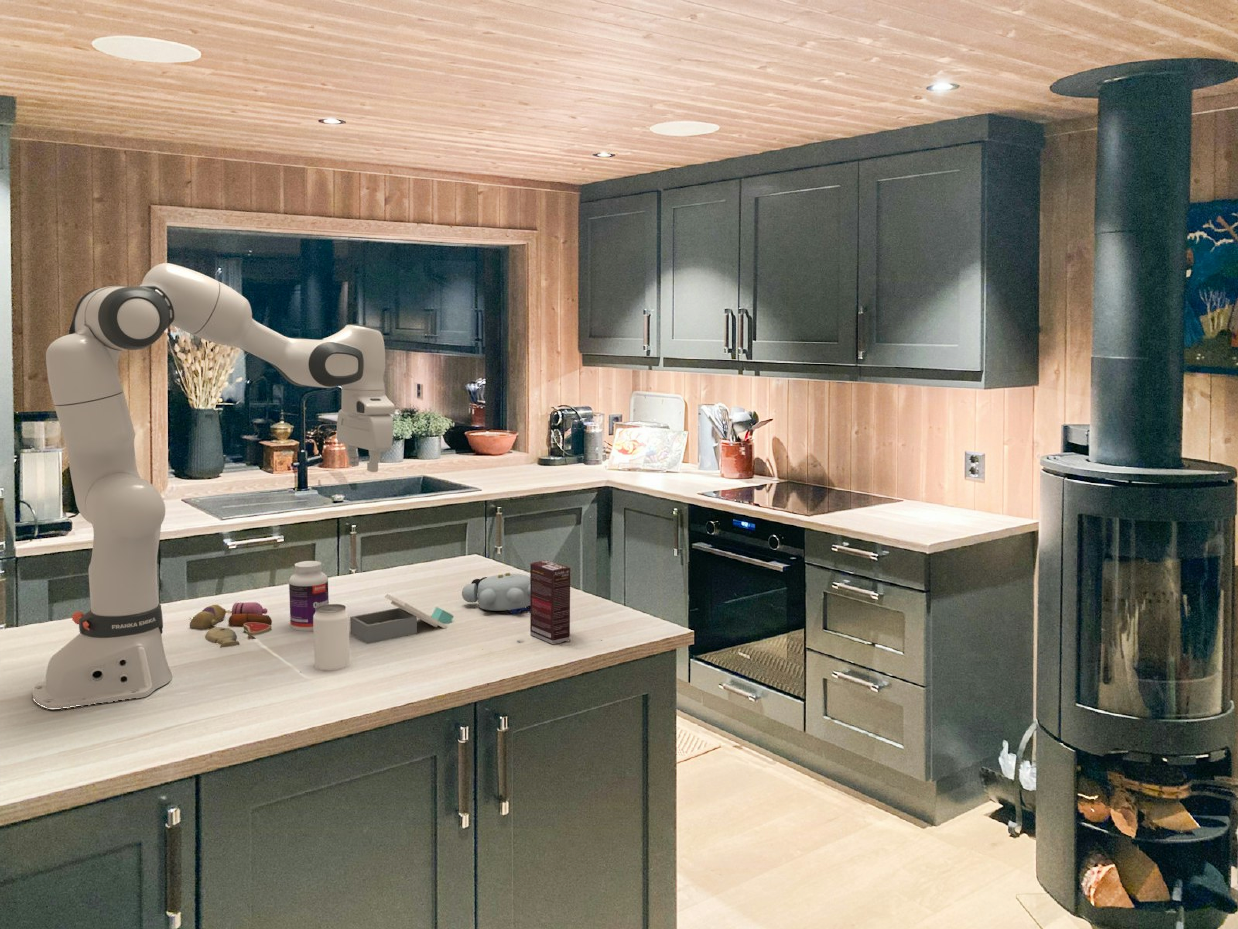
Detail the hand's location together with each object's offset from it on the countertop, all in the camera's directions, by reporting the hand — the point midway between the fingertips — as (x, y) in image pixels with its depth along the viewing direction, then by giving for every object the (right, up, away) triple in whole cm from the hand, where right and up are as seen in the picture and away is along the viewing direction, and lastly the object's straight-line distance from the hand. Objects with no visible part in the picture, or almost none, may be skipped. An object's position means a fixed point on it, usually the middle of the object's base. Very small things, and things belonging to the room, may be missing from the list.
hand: (362, 468), depth 213 cm
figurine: (+26, -33, +25) cm, 49 cm away
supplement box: (+39, -36, +2) cm, 53 cm away
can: (-1, -39, -19) cm, 43 cm away
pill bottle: (-13, -35, +6) cm, 38 cm away
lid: (+10, -32, +5) cm, 34 cm away
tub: (+4, -36, 0) cm, 36 cm away
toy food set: (-29, -35, +7) cm, 46 cm away
